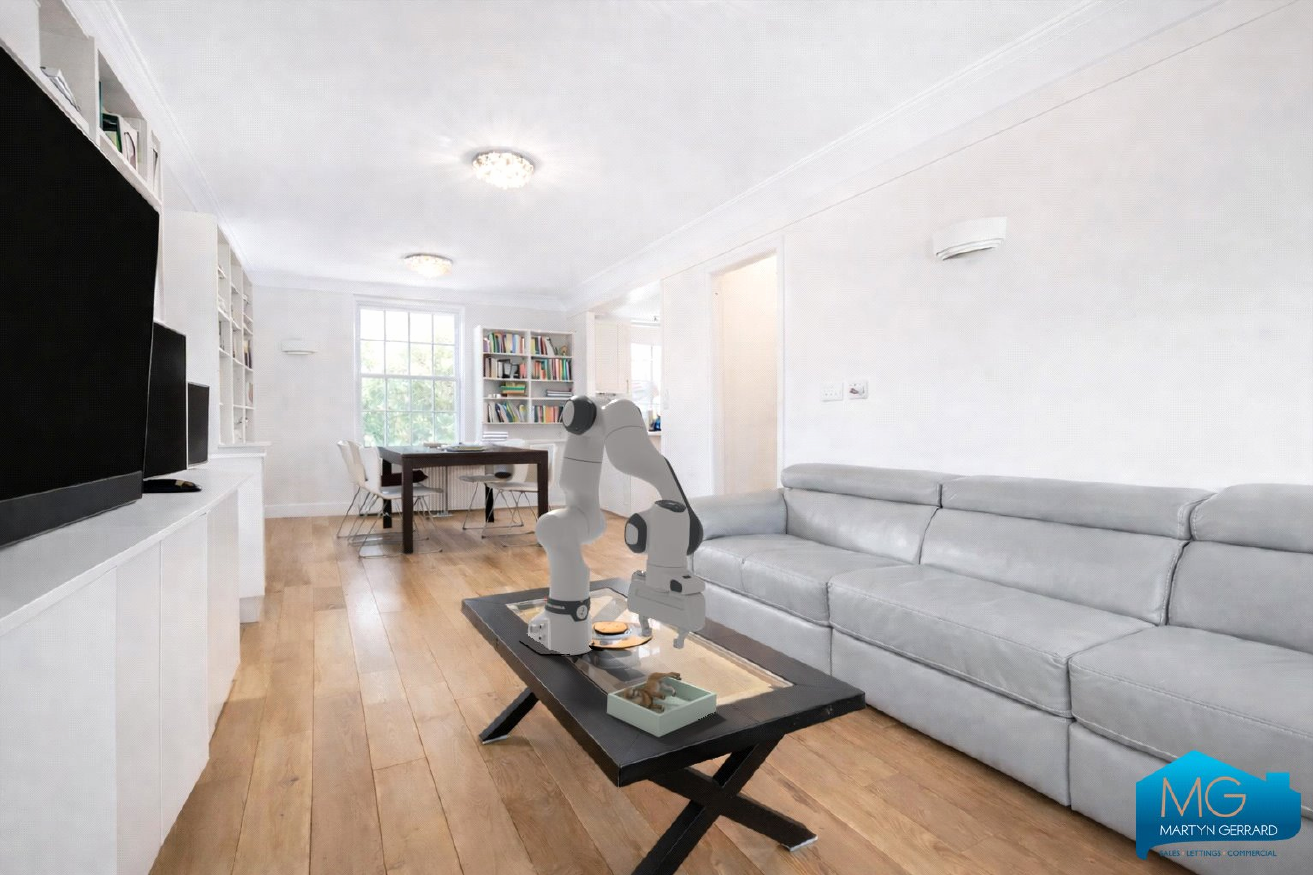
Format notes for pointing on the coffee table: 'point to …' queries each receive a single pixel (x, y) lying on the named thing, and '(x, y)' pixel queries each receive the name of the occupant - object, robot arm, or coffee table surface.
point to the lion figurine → (650, 691)
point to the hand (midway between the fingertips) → (662, 641)
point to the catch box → (677, 710)
